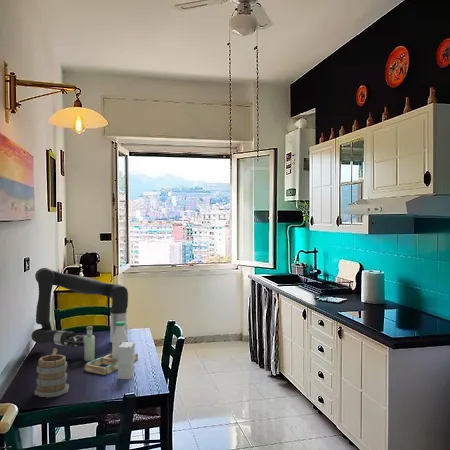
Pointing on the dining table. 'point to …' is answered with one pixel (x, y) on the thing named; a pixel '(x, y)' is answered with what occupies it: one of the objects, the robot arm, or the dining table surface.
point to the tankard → (52, 375)
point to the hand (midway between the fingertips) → (89, 342)
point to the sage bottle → (89, 345)
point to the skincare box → (126, 360)
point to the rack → (106, 360)
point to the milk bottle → (118, 338)
